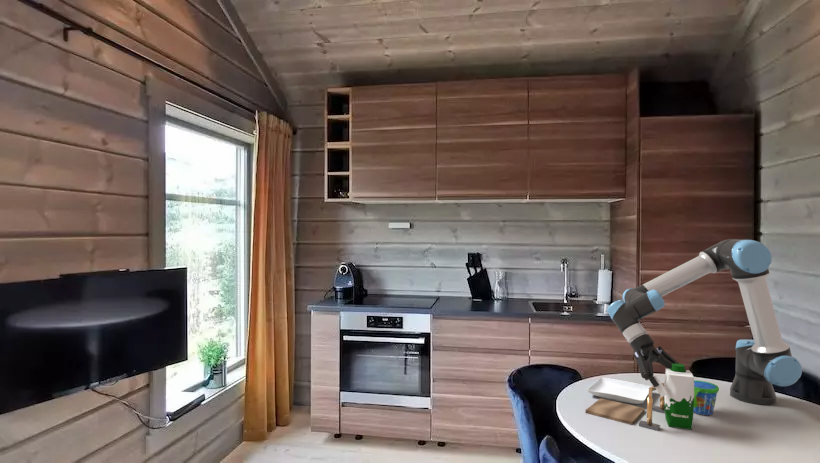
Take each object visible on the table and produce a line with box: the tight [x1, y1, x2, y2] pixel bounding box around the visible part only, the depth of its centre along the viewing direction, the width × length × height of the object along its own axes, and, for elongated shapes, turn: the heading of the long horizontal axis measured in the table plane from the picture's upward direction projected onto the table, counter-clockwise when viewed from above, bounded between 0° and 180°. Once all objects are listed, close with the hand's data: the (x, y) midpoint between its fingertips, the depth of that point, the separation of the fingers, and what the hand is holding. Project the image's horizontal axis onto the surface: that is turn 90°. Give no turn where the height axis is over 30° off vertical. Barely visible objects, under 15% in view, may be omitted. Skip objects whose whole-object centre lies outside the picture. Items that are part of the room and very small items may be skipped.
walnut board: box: [584, 397, 646, 426], centre depth 180 cm, size 16×16×1 cm
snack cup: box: [693, 379, 720, 416], centre depth 181 cm, size 16×10×10 cm
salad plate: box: [586, 376, 653, 405], centre depth 198 cm, size 21×21×3 cm
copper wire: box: [638, 382, 665, 432], centre depth 174 cm, size 6×21×10 cm, turn 140°
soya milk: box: [664, 362, 695, 430], centre depth 169 cm, size 9×9×20 cm
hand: (677, 391), depth 169 cm, fingers open, 13 cm apart
